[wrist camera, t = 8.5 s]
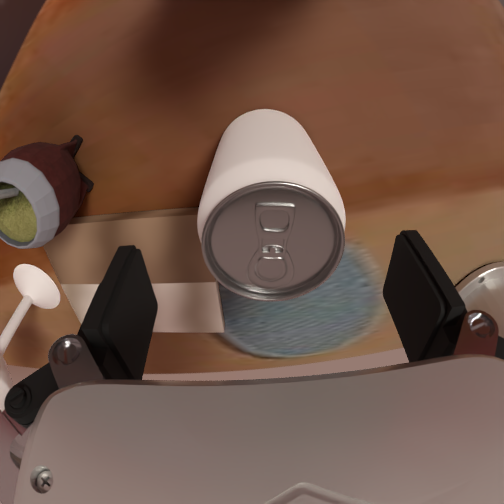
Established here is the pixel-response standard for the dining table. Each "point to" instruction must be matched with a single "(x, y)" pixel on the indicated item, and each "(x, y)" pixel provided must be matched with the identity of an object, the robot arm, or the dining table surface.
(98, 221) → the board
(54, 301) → the champagne flute
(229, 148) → the can
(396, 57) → the dining table surface
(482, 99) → the dining table surface
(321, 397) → the robot arm
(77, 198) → the mate gourd
